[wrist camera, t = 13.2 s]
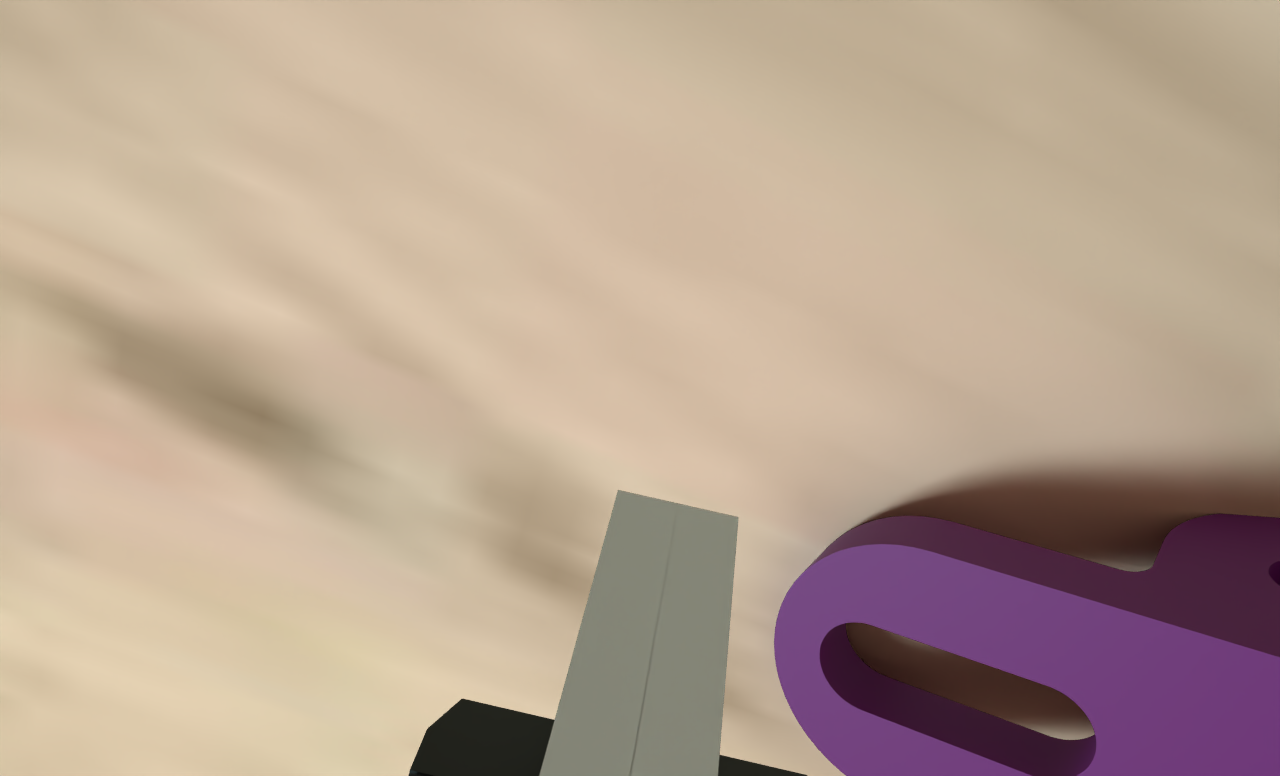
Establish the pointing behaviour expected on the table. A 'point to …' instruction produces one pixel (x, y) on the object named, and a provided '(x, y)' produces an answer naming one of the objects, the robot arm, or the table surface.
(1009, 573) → the mounting bracket
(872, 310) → the table surface
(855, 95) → the table surface
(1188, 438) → the table surface
